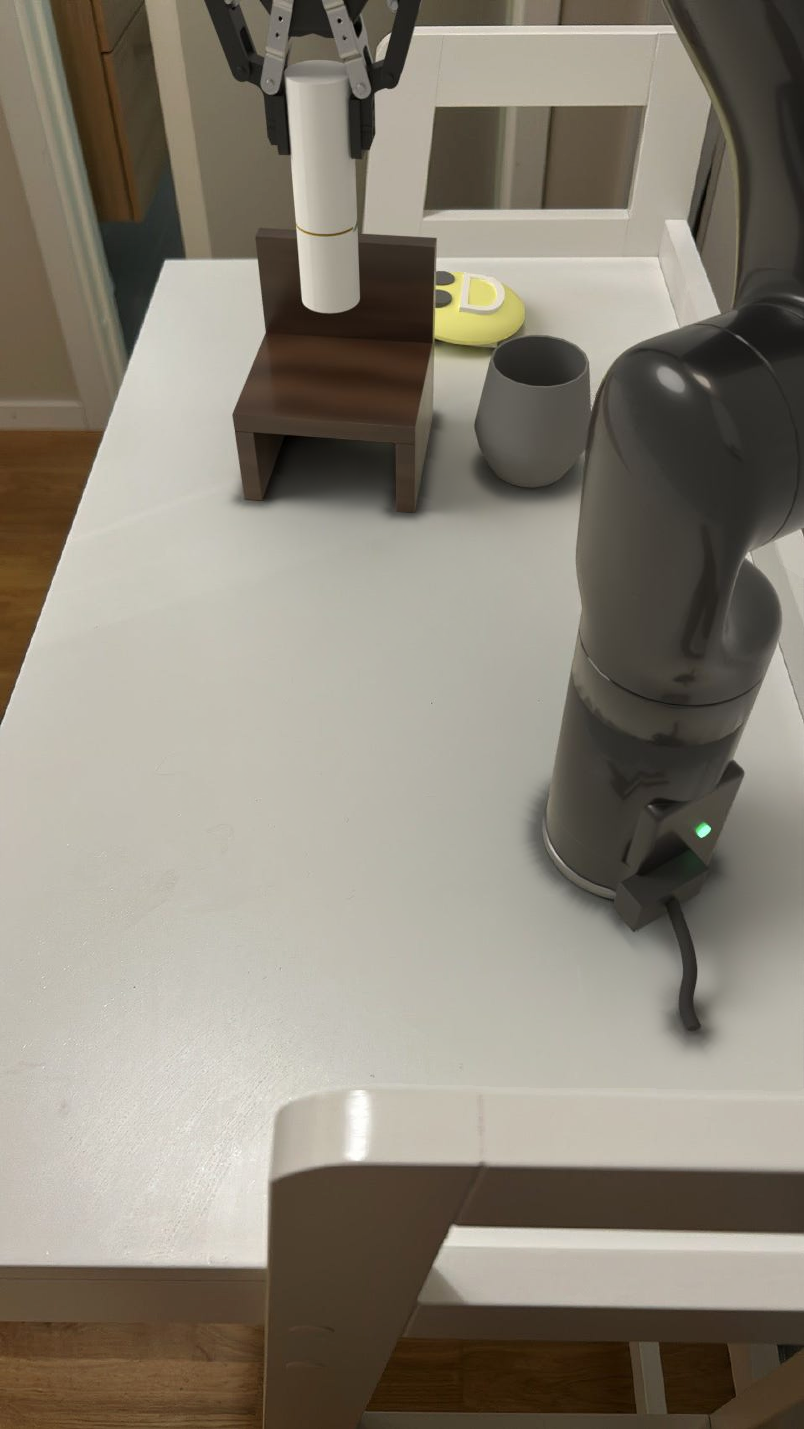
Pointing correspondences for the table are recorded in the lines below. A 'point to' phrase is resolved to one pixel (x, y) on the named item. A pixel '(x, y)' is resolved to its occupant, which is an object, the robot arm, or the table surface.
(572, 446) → the cup
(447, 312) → the emoji
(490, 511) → the table surface
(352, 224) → the tube
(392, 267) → the wooden doll chair
